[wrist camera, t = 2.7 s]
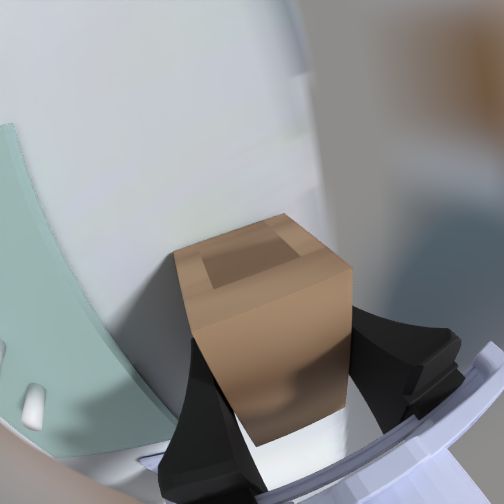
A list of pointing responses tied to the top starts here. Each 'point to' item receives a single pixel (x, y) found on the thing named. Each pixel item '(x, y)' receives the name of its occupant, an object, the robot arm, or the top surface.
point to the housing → (271, 323)
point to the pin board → (60, 340)
